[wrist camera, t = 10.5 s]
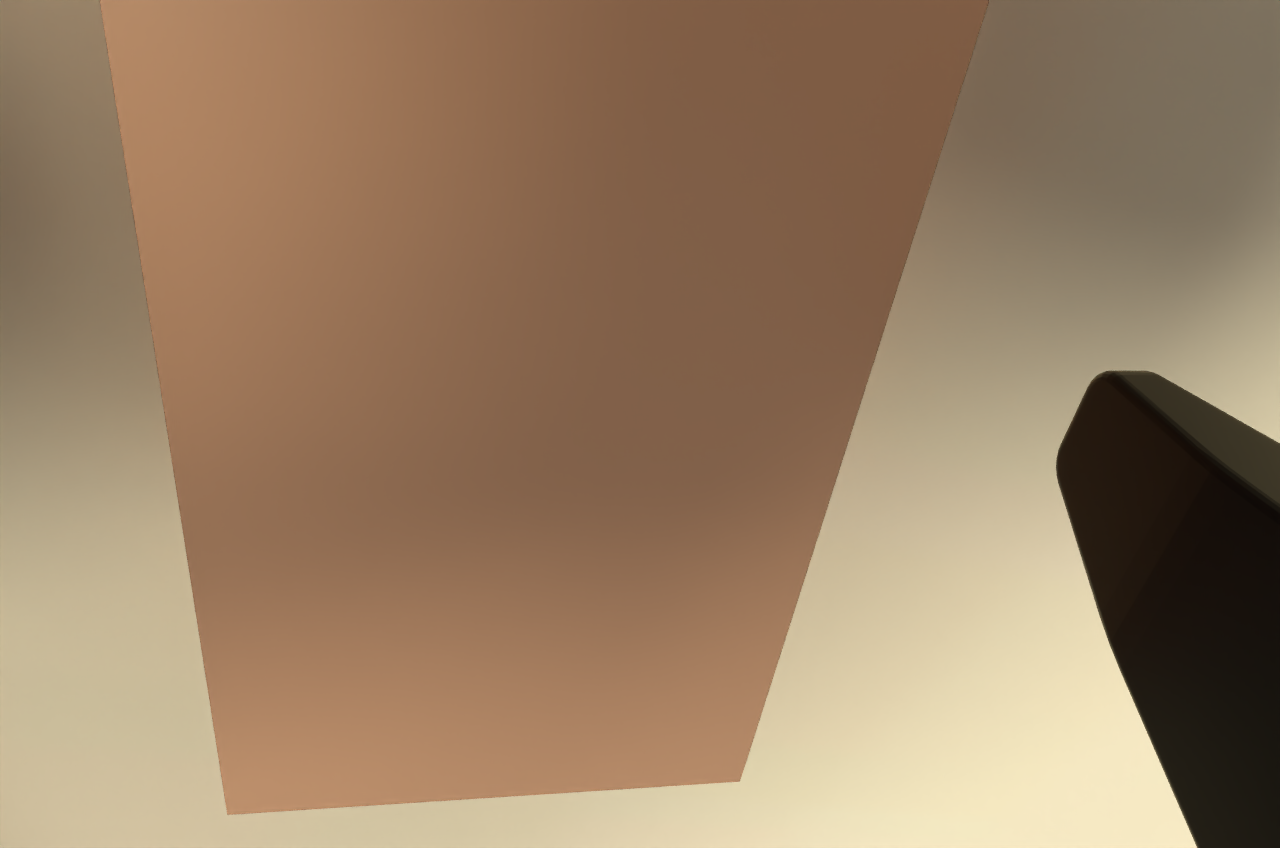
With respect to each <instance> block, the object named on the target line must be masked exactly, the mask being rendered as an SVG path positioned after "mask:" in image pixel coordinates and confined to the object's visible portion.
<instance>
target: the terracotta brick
mask: <svg viewBox="0 0 1280 848" xmlns="http://www.w3.org/2000/svg"><path fill="white" fill-rule="evenodd" d="M988 3H989V0H100V6H101V12H102V18H103V25H104V31H105V37H106V44H107V50H108V57H109V63H110V69H111V76H112V82H113V88H114V95H115V101H116V107H117V114H118V120H119V127H120V133H121V139H122V146H123V152H124V158H125V165H126V171H127V178H128V184H129V190H130V197H131V203H132V209H133V216H134V222H135V229H136V235H137V241H138V248H139V254H140V260H141V267H142V273H143V280H144V286H145V292H146V299H147V305H148V311H149V318H150V324H151V331H152V337H153V343H154V350H155V356H156V362H157V369H158V375H159V381H160V388H161V394H162V401H163V407H164V413H165V420H166V426H167V432H168V439H169V445H170V452H171V458H172V464H173V471H174V477H175V483H176V490H177V496H178V503H179V509H180V515H181V522H182V528H183V534H184V541H185V547H186V554H187V560H188V566H189V573H190V579H191V585H192V592H193V598H194V604H195V611H196V617H197V624H198V630H199V636H200V643H201V649H202V655H203V662H204V668H205V675H206V681H207V687H208V694H209V700H210V706H211V713H212V719H213V726H214V732H215V738H216V745H217V751H218V757H219V764H220V770H221V777H222V783H223V789H224V796H225V802H226V808H227V815H230V814H245V813H261V812H276V811H292V810H307V809H322V808H338V807H353V806H369V805H384V804H399V803H415V802H430V801H446V800H461V799H477V798H492V797H507V796H523V795H538V794H554V793H569V792H584V791H600V790H615V789H631V788H646V787H661V786H677V785H692V784H708V783H723V782H738V781H740V779H741V776H742V773H743V770H744V767H745V764H746V760H747V757H748V754H749V751H750V748H751V745H752V742H753V738H754V735H755V732H756V729H757V726H758V723H759V720H760V717H761V713H762V710H763V707H764V704H765V701H766V698H767V695H768V692H769V688H770V685H771V682H772V679H773V676H774V673H775V670H776V666H777V663H778V660H779V657H780V654H781V651H782V648H783V645H784V641H785V638H786V635H787V632H788V629H789V626H790V623H791V620H792V616H793V613H794V610H795V607H796V604H797V601H798V598H799V594H800V591H801V588H802V585H803V582H804V579H805V576H806V573H807V569H808V566H809V563H810V560H811V557H812V554H813V551H814V548H815V544H816V541H817V538H818V535H819V532H820V529H821V526H822V522H823V519H824V516H825V513H826V510H827V507H828V504H829V501H830V497H831V494H832V491H833V488H834V485H835V482H836V479H837V476H838V472H839V469H840V466H841V463H842V460H843V457H844V454H845V450H846V447H847V444H848V441H849V438H850V435H851V432H852V429H853V425H854V422H855V419H856V416H857V413H858V410H859V407H860V404H861V400H862V397H863V394H864V391H865V388H866V385H867V382H868V378H869V375H870V372H871V369H872V366H873V363H874V360H875V357H876V353H877V350H878V347H879V344H880V341H881V338H882V335H883V332H884V328H885V325H886V322H887V319H888V316H889V313H890V310H891V306H892V303H893V300H894V297H895V294H896V291H897V288H898V285H899V281H900V278H901V275H902V272H903V269H904V266H905V263H906V260H907V256H908V253H909V250H910V247H911V244H912V241H913V238H914V234H915V231H916V228H917V225H918V222H919V219H920V216H921V213H922V209H923V206H924V203H925V200H926V197H927V194H928V191H929V188H930V184H931V181H932V178H933V175H934V172H935V169H936V166H937V162H938V159H939V156H940V153H941V150H942V147H943V144H944V141H945V137H946V134H947V131H948V128H949V125H950V122H951V119H952V116H953V112H954V109H955V106H956V103H957V100H958V97H959V94H960V90H961V87H962V84H963V81H964V78H965V75H966V72H967V69H968V65H969V62H970V59H971V56H972V53H973V50H974V47H975V44H976V40H977V37H978V34H979V31H980V28H981V25H982V22H983V18H984V15H985V12H986V9H987V6H988Z"/></svg>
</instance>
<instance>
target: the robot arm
mask: <svg viewBox="0 0 1280 848" xmlns="http://www.w3.org/2000/svg"><path fill="white" fill-rule="evenodd" d="M1056 472H1057V479H1058V483H1059V487H1060V490H1061V493H1062V496H1063V499H1064V503H1065V506H1066V509H1067V512H1068V515H1069V519H1070V522H1071V525H1072V528H1073V532H1074V535H1075V538H1076V541H1077V544H1078V548H1079V551H1080V554H1081V557H1082V560H1083V564H1084V567H1085V570H1086V573H1087V576H1088V580H1089V583H1090V586H1091V589H1092V592H1093V596H1094V599H1095V602H1096V605H1097V608H1098V612H1099V615H1100V618H1101V621H1102V624H1103V627H1104V629H1105V632H1106V635H1107V638H1108V641H1109V644H1110V646H1111V649H1112V651H1113V654H1114V656H1115V659H1116V661H1117V664H1118V666H1119V669H1120V671H1121V673H1122V676H1123V678H1124V680H1125V683H1126V685H1127V687H1128V690H1129V692H1130V694H1131V696H1132V699H1133V701H1134V703H1135V706H1136V708H1137V710H1138V713H1139V715H1140V717H1141V719H1142V722H1143V724H1144V726H1145V729H1146V731H1147V733H1148V736H1149V738H1150V740H1151V742H1152V745H1153V747H1154V749H1155V752H1156V754H1157V756H1158V759H1159V761H1160V763H1161V765H1162V768H1163V770H1164V772H1165V775H1166V777H1167V779H1168V782H1169V784H1170V786H1171V788H1172V791H1173V793H1174V795H1175V798H1176V800H1177V802H1178V805H1179V807H1180V809H1181V811H1182V814H1183V816H1184V818H1185V821H1186V823H1187V825H1188V828H1189V830H1190V832H1191V834H1192V837H1193V839H1194V841H1195V844H1196V846H1197V848H1280V443H1278V442H1276V441H1274V440H1273V439H1271V438H1269V437H1267V436H1266V435H1264V434H1262V433H1260V432H1259V431H1257V430H1255V429H1253V428H1251V427H1250V426H1248V425H1246V424H1244V423H1243V422H1241V421H1239V420H1237V419H1236V418H1234V417H1232V416H1230V415H1229V414H1227V413H1225V412H1223V411H1221V410H1220V409H1218V408H1216V407H1214V406H1213V405H1211V404H1209V403H1207V402H1206V401H1204V400H1202V399H1200V398H1199V397H1197V396H1195V395H1193V394H1191V393H1190V392H1188V391H1186V390H1184V389H1183V388H1181V387H1179V386H1177V385H1176V384H1174V383H1172V382H1170V381H1169V380H1167V379H1165V378H1163V377H1161V376H1160V375H1158V374H1155V373H1152V372H1148V371H1106V372H1103V373H1100V374H1099V375H1097V376H1096V377H1095V378H1094V379H1093V380H1092V381H1091V383H1090V384H1089V386H1088V388H1087V390H1086V392H1085V394H1084V396H1083V398H1082V400H1081V403H1080V405H1079V407H1078V409H1077V411H1076V413H1075V415H1074V417H1073V420H1072V422H1071V424H1070V426H1069V428H1068V430H1067V432H1066V434H1065V436H1064V439H1063V441H1062V443H1061V445H1060V448H1059V450H1058V455H1057V461H1056Z"/></svg>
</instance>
